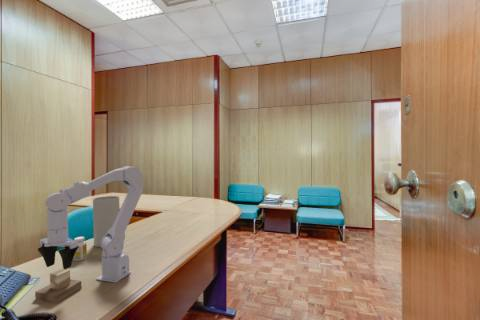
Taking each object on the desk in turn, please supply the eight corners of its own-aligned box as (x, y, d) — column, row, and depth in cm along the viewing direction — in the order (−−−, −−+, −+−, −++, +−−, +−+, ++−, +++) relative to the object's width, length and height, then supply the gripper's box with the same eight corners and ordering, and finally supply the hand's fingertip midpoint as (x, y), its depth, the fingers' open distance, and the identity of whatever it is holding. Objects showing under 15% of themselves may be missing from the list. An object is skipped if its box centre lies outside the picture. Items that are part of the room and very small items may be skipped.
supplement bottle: (84, 255, 113) (84, 235, 113) (88, 258, 109) (88, 237, 109) (71, 259, 109) (70, 238, 108) (74, 262, 105) (74, 240, 105)
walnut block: (81, 289, 84) (81, 280, 84) (56, 304, 75) (56, 295, 75) (62, 286, 86) (61, 278, 86) (35, 300, 78) (35, 291, 78)
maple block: (70, 283, 82) (69, 269, 82) (58, 290, 78) (57, 275, 78) (62, 282, 84) (62, 268, 84) (50, 288, 80) (49, 273, 80)
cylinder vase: (88, 245, 125) (87, 199, 125) (110, 238, 136) (109, 195, 136) (104, 249, 120) (103, 200, 119) (125, 241, 131) (124, 196, 131)
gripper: (29, 230, 79) (30, 270, 79) (62, 233, 75) (63, 274, 75) (51, 224, 85) (52, 260, 86) (82, 226, 82) (83, 265, 82)
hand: (58, 266), depth 81 cm, fingers open, 7 cm apart
